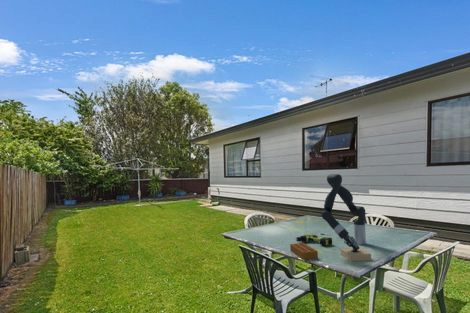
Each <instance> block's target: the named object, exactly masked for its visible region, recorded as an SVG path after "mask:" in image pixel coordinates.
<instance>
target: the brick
mask: <svg viewBox="0 0 470 313" xmlns="http://www.w3.org/2000/svg"><path fill="white" fill-rule="evenodd" d="M289 247H290V250H289V251H290V252H291V253H293V254H294V255H295V256H297V257H298V258H300V259H301V260H303V261H308V260H309V261H310V260H316V259H319V255H318V253H319V252H318V250H317V249H315V248H314V247H311V246H310V245H307V244H306V243H305V242H299V243H298V242H296V243H291V244H289Z"/></svg>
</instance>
